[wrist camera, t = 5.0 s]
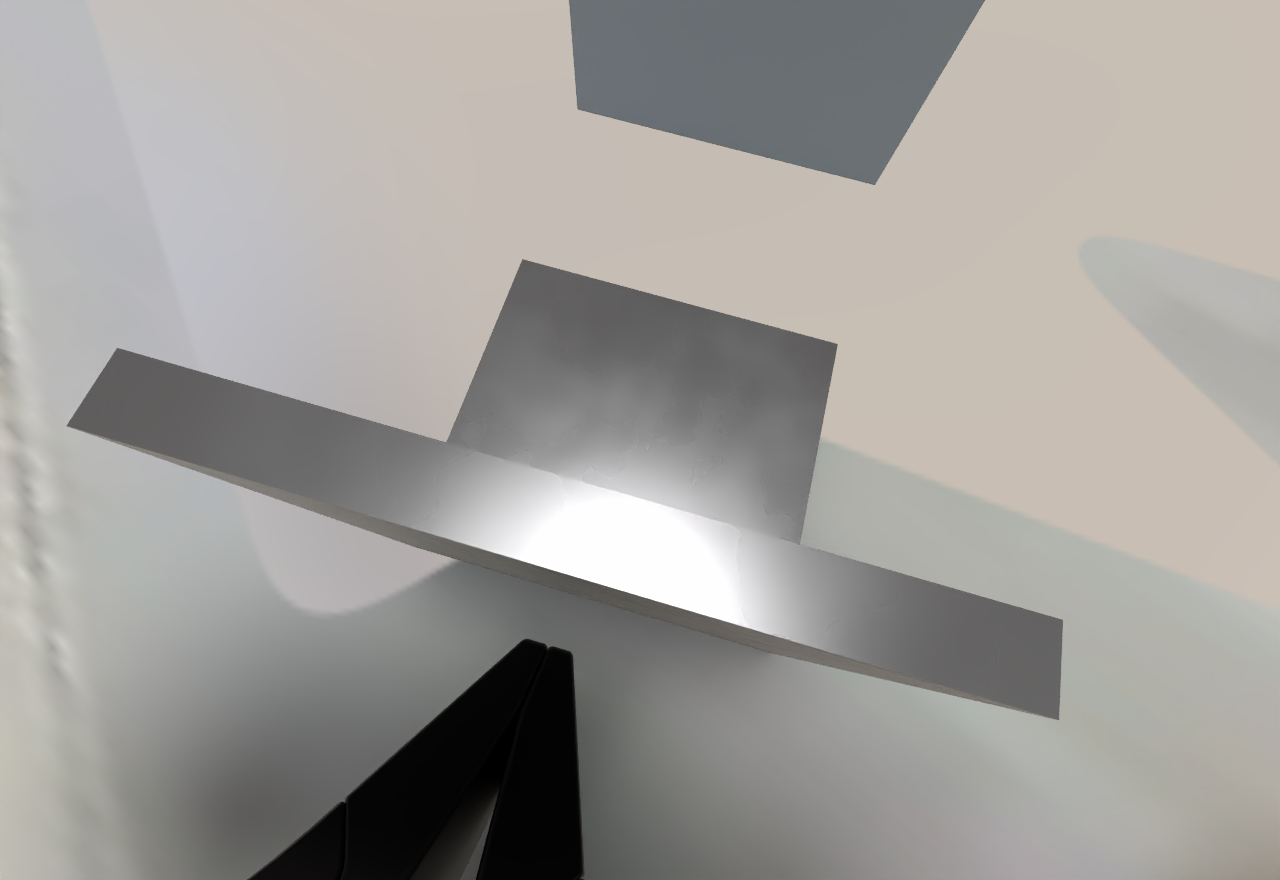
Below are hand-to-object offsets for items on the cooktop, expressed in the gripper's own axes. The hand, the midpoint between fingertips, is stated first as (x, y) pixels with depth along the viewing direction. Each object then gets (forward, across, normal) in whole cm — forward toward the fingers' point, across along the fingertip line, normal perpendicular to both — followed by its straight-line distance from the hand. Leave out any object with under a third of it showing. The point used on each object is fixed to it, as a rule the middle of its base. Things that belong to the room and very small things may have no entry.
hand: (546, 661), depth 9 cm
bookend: (+9, 0, +1) cm, 9 cm away
